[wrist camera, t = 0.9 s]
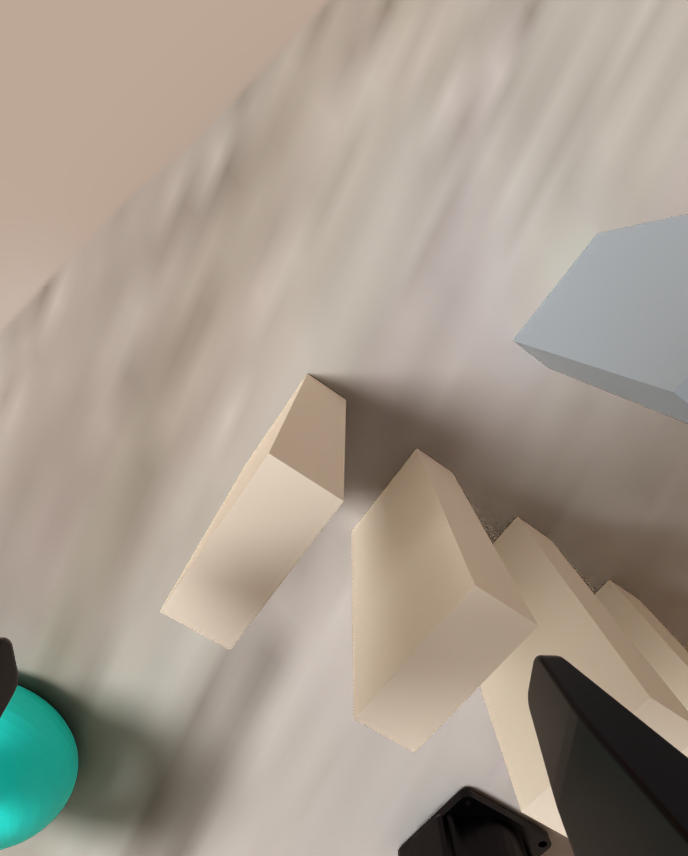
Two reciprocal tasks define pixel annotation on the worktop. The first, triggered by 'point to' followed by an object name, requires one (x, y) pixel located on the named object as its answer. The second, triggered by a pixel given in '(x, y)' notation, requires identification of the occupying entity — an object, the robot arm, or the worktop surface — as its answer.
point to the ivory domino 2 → (426, 605)
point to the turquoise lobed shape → (33, 766)
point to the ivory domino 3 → (578, 644)
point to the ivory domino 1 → (266, 518)
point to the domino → (622, 317)
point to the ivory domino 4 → (649, 638)
